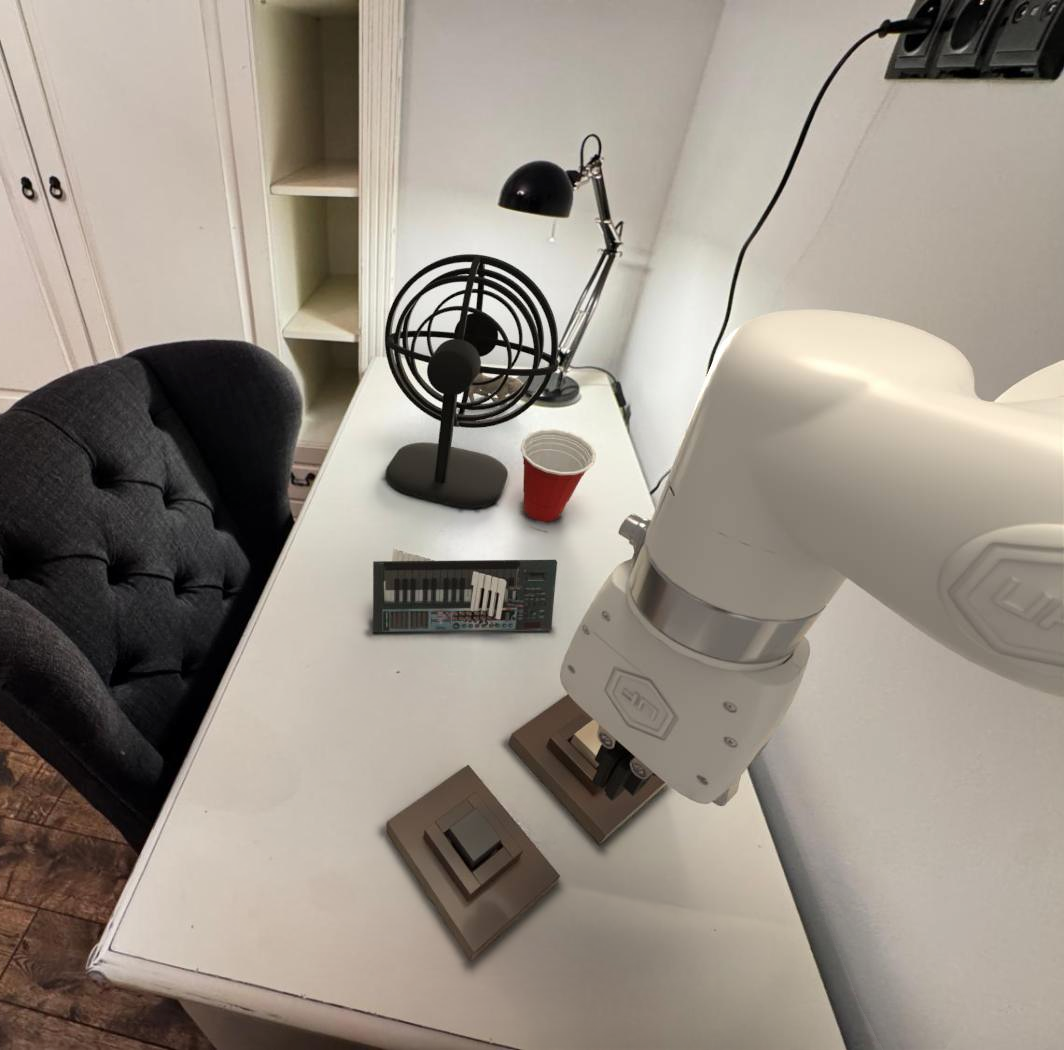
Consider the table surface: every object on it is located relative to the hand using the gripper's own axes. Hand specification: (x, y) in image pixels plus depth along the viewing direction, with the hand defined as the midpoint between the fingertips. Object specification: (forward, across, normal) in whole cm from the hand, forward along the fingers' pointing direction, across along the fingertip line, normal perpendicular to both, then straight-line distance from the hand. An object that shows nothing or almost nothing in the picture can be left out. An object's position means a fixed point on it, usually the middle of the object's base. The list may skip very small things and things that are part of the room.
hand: (615, 779), depth 38 cm
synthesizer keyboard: (+19, -28, +13) cm, 36 cm away
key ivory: (+15, -6, +11) cm, 20 cm away
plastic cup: (+18, -38, +39) cm, 58 cm away
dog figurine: (+18, -68, +59) cm, 92 cm away
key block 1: (+19, -6, -5) cm, 21 cm away
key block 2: (+19, -6, +11) cm, 23 cm away
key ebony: (+15, -6, -5) cm, 17 cm away
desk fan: (+18, -54, +34) cm, 66 cm away
